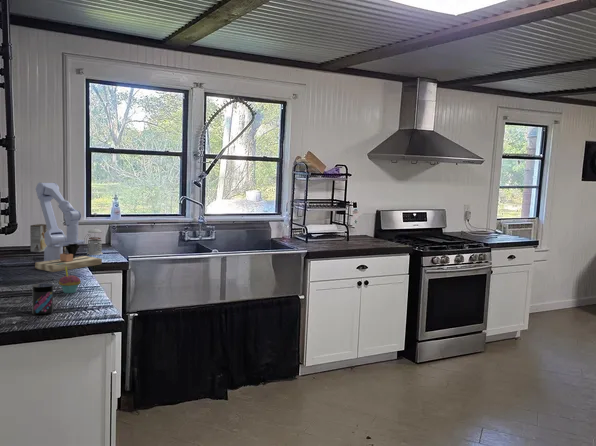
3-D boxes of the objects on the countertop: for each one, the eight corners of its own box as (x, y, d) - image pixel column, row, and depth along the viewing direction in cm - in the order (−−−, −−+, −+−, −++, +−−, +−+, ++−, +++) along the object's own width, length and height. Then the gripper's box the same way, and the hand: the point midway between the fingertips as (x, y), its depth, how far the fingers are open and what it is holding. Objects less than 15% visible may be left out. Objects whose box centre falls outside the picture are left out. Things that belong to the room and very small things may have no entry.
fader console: (35, 268, 264) (35, 262, 264) (84, 261, 291) (84, 255, 291) (53, 272, 258) (53, 265, 258) (101, 264, 284) (101, 258, 284)
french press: (106, 253, 318) (107, 213, 316) (90, 255, 308) (90, 214, 306) (96, 251, 323) (97, 212, 321) (80, 253, 314) (80, 212, 311)
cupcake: (66, 295, 214) (66, 266, 213) (54, 292, 219) (54, 264, 217) (84, 291, 221) (85, 264, 220) (72, 288, 226) (72, 261, 225)
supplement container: (28, 315, 184) (28, 286, 183) (38, 310, 190) (38, 282, 189) (47, 316, 183) (47, 287, 182) (56, 311, 190) (56, 283, 189)
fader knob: (60, 260, 272) (60, 253, 271) (66, 259, 275) (66, 252, 275) (66, 261, 269) (66, 254, 269) (73, 260, 273) (73, 253, 273)
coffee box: (37, 249, 321) (37, 223, 320) (48, 250, 321) (48, 224, 320) (30, 251, 312) (30, 225, 311) (40, 252, 312) (40, 225, 311)
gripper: (65, 234, 266) (65, 261, 267) (88, 232, 279) (88, 257, 280) (56, 233, 269) (56, 259, 270) (79, 231, 282) (79, 256, 283)
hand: (72, 258), depth 275 cm, fingers closed
